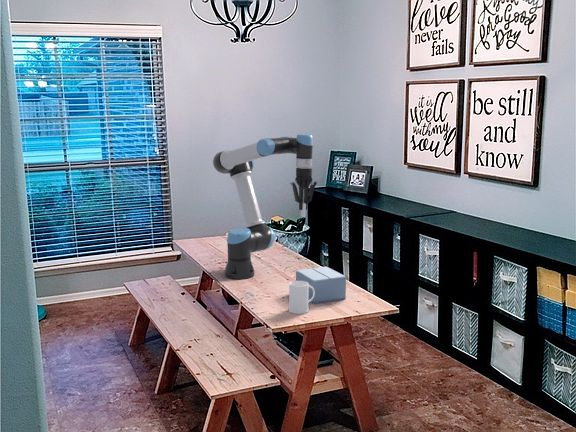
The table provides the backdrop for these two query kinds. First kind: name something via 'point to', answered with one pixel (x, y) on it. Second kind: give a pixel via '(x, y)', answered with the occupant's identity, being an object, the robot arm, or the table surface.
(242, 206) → the robot arm
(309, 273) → the flap left
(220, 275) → the table surface
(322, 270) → the flap right
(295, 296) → the mug
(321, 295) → the box
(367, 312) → the table surface
